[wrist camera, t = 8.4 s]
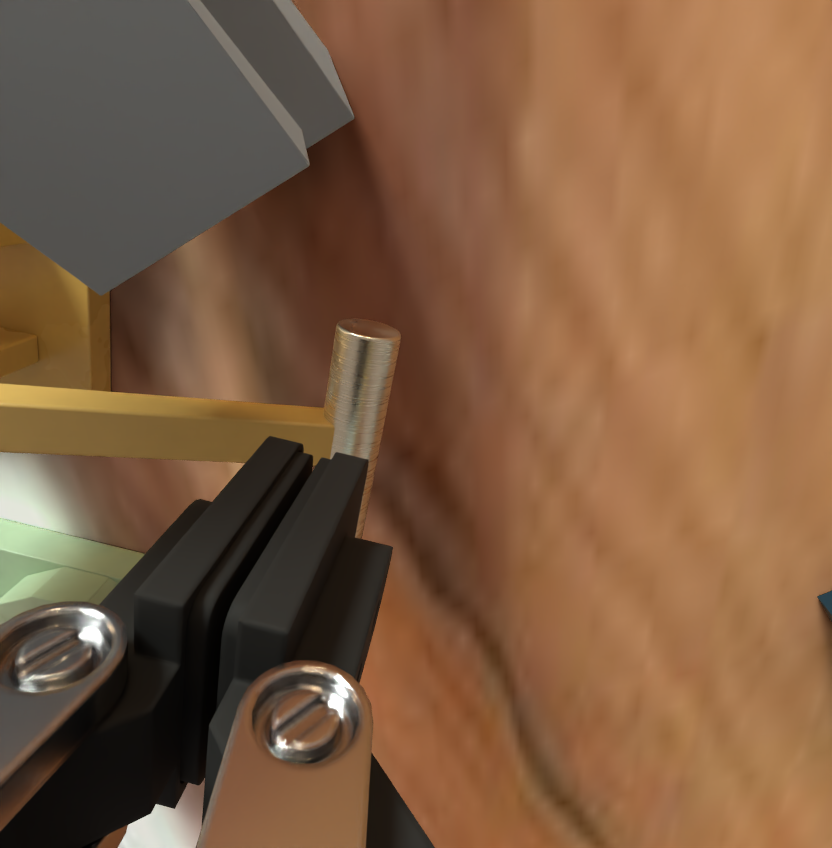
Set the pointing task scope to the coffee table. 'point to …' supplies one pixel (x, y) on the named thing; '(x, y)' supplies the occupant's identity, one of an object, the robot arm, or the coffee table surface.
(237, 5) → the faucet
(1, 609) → the button box
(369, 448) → the tap lever
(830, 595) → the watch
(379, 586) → the robot arm
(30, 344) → the bracket
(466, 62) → the coffee table surface
